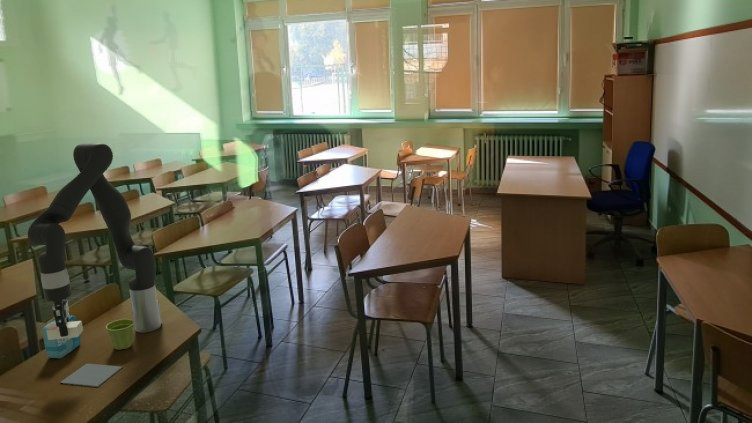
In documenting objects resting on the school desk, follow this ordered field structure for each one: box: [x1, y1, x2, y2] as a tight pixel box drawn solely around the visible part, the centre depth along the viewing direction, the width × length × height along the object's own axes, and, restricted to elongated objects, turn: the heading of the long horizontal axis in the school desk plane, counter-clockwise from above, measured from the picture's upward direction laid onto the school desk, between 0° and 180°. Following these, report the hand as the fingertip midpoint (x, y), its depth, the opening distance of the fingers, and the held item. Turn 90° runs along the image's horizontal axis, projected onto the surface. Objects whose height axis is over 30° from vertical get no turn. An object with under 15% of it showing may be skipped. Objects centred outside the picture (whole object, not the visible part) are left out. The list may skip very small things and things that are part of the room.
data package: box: [41, 314, 82, 359], centre depth 199 cm, size 12×4×12 cm, turn 170°
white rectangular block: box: [46, 320, 84, 340], centre depth 180 cm, size 9×5×4 cm, turn 98°
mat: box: [59, 363, 123, 388], centre depth 183 cm, size 12×14×1 cm
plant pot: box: [105, 318, 135, 350], centre depth 201 cm, size 9×9×9 cm
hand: (65, 331), depth 181 cm, fingers closed on white rectangular block, 5 cm apart
